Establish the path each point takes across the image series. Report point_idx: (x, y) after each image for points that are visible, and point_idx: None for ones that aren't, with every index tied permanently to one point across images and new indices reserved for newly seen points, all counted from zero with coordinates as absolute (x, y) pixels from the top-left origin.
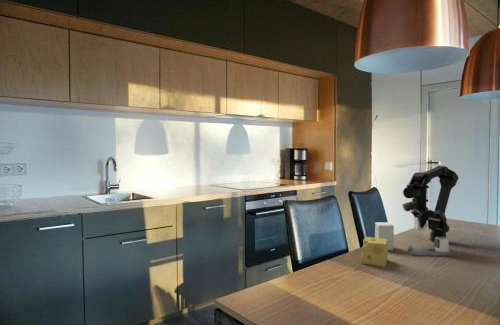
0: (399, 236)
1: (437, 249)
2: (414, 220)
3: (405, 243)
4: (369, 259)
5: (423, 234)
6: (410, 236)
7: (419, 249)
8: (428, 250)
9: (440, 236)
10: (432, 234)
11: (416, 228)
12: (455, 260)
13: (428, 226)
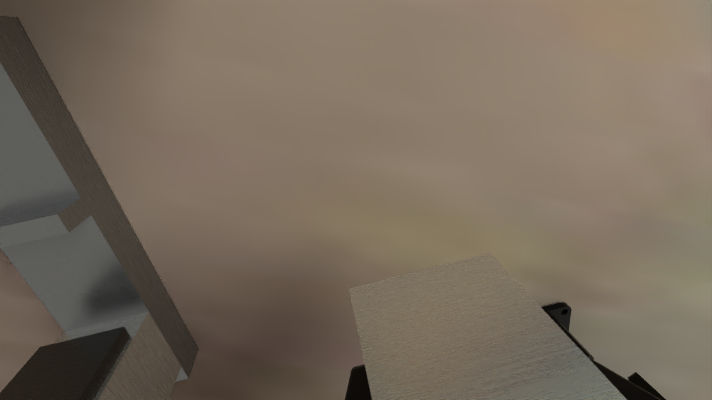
0: (696, 71)
1: (98, 329)
2: (598, 388)
3: (437, 80)
4: None
5: (706, 280)
6: (675, 178)
7: (27, 166)
8: (43, 250)
9: None
10: None
11: (395, 286)
12: None
13: (658, 394)
